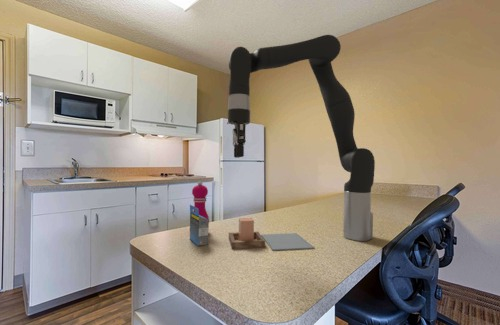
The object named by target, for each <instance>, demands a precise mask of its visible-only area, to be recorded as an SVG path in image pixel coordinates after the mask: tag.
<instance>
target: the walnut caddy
mask: <svg viewBox="0 0 500 325" xmlns="http://www.w3.org/2000/svg"><path fill="white" fill-rule="evenodd" d="M228 241H229V245H230V247H231V250H233V249H235V250H236V249H253V248H255V249H257V248H266V241H265V240H264V239H263V237H262V236H261V233H260V232H259V231H254V240H249V241H239V231H238V232H236V231H235V232H228Z"/></svg>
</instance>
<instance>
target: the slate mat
mask: <svg viewBox="0 0 500 325" xmlns="http://www.w3.org/2000/svg"><path fill="white" fill-rule="evenodd" d="M260 235H261V236H262V237H263V239H264V240H265V244H267V245H268V246H269V248H270V250H271V251H273V252H274V251H293V250H295V251H296V250H312V249H315V246H313V245H312V244H311V243H309V242H308V241H307V240H306V239H304V238H303V237H302V236H301V235H300V234H298V233H297V232H291V233H290V232H289V233H287V232H286V233H265V234H264V233H263V234H262V233H260Z"/></svg>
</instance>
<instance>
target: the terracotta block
mask: <svg viewBox="0 0 500 325" xmlns="http://www.w3.org/2000/svg"><path fill="white" fill-rule="evenodd" d="M254 224H255V221H254V219H253V218H252V217H239V218H238V232H239V239H238V241H249V240H255V238H254V232H255V229H254V228H255V225H254Z"/></svg>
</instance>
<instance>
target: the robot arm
mask: <svg viewBox="0 0 500 325" xmlns="http://www.w3.org/2000/svg"><path fill="white" fill-rule="evenodd" d="M341 47H342V46H341V42H340V40H339V39H338V38H337V37H336V36H335V35H332V34H324V35H320V36H318V37H314V38H310V39H307V40H303V41H298V42H294V43H290V44H289V43H287V44H283V45H274V46H265V47H260V48H258V49H256V50H255V51H254V52H250V51H249V50H248V49H247V48H246V47H244V46H236V47H235V48H233V50H232V51H231V53H230V56H229V59H228V69H229V71H230V77H229V78H230V79H229V83H228V102H227V123H228V124H229V125H234V128H233V129H232V146H233V157H234V158H243V157H245V151H244V150H245V145H246V126H247V125H249V124H251V123H250V122H251V100H250V78H251V74H252V73H256V72H258V71H261V70H268V69H269V70H272V69H277V68H281V67H286V66H288V65H292V64H294V63H297V62H301V61H307V60H308V63H309V65H310V68H311V70H312V72H313V74H314V77H315V79H316V82H317V84H318V87H319V91H320V93H321V98H322V99H323V104H324V106H325V110H326V113H327V114H326V115H327V116H328V119H329V123H330V125H331V128H332V131H333V134H334V139H335V142H336V146H337V152H338V157H339V161H340V164H341V167H342V168H343V169H344V170H345V171H346V172H348V173H350V176H349V180H348V181H347V182H345V183H344V185H343V229H342V230H343V233H342V234H343V237H344V238H346V239H347V240H348V239H349V240H352V241H357V242H360V241H361V242H366V241H370V240H373V239H374V238H373V237H374V236H373V235H374V234H373V232H374V213H373V212H372V208H371V205H372V204H371V202H372V201H371V200H372V198H371V197H372V187H373V185H374V181H375V169H376V168H375V166H376V165H375V164H376V162H375V156H374V154H373V152H372V150H369V149H368V148H363V147H362V148H361V147H360V148H358V146H357V143H356V141H355V137H354V126H355V125H354V124H355V115H356V114H355V109H354V108H355V107H354V105H353V102H352V99H351V96H350V93H349V92H348V91H347V89H346V88H345V87H344V85H343V84H341V82H340V81H339V80H338V79H337V77H336V75H335V72H334V69H333V65H332V62H333V61H334V60H335V59H337V57H338V55H339V54H340V52H341Z"/></svg>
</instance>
